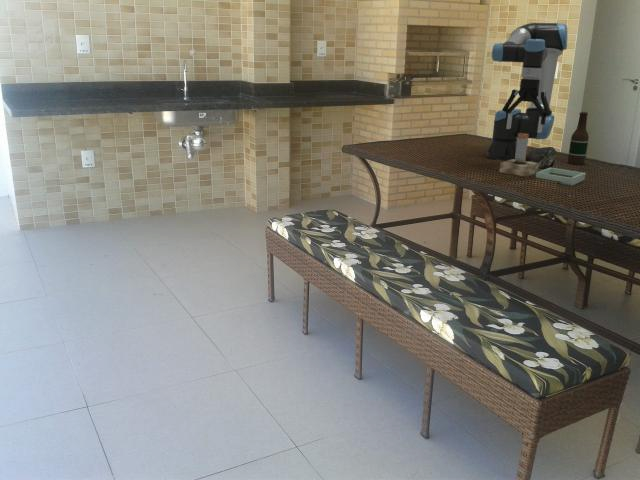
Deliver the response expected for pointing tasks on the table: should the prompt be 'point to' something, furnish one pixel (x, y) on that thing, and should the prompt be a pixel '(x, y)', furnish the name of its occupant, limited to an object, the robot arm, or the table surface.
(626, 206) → the table surface
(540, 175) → the tray
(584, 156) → the beer bottle
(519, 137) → the pin
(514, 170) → the block
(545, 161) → the rock
